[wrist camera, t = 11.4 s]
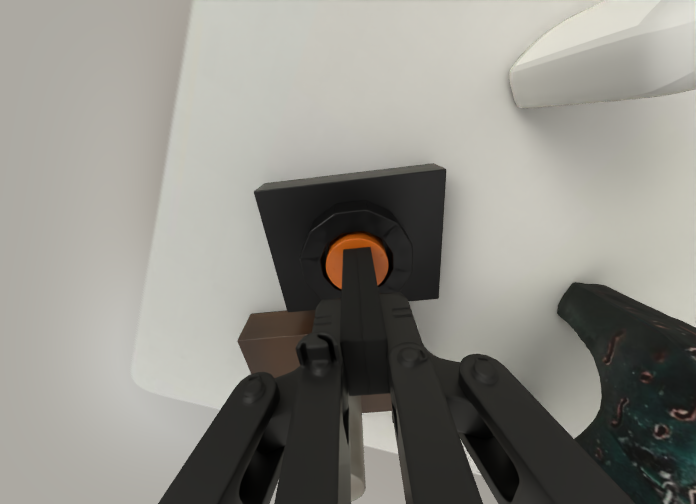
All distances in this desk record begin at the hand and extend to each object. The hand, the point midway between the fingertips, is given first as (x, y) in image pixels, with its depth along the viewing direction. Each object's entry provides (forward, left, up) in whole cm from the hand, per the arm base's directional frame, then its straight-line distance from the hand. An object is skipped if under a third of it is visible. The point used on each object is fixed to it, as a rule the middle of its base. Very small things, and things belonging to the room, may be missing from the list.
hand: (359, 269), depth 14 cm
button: (0, 0, -2) cm, 2 cm away
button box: (0, 0, -5) cm, 5 cm away
